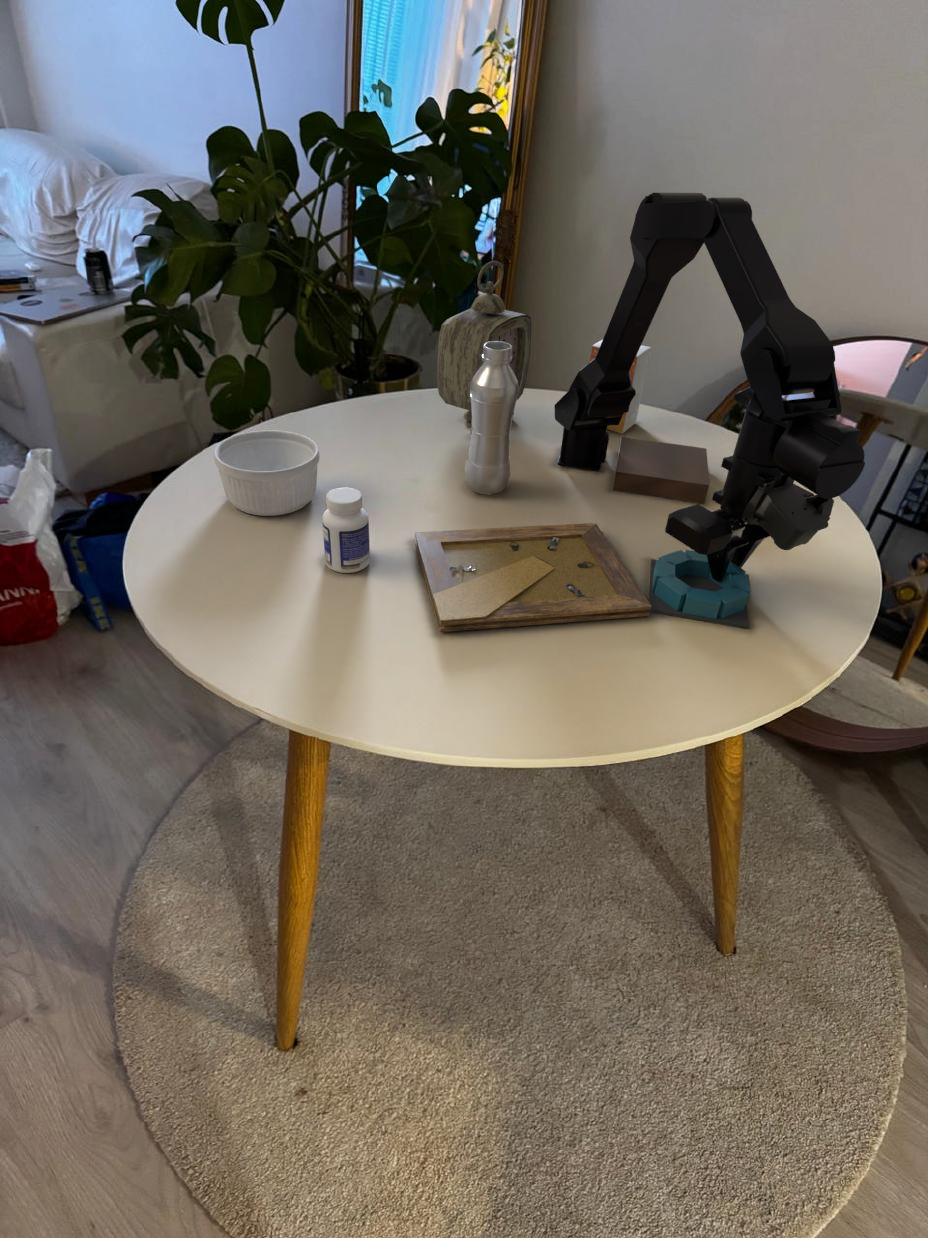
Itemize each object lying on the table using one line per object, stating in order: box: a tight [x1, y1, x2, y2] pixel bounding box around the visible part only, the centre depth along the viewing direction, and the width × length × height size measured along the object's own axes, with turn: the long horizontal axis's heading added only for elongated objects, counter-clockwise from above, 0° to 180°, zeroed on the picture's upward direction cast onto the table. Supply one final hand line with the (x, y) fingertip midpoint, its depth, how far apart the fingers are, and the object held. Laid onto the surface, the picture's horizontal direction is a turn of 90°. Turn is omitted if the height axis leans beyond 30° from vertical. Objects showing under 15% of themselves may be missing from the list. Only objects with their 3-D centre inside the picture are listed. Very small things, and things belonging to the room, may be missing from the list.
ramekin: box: [213, 429, 320, 517], centre depth 99 cm, size 13×13×7 cm
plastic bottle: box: [463, 341, 519, 495], centre depth 101 cm, size 6×7×20 cm
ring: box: [652, 549, 752, 619], centre depth 88 cm, size 11×11×2 cm
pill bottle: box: [321, 486, 371, 574], centre depth 87 cm, size 5×5×9 cm
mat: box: [648, 558, 750, 630], centre depth 88 cm, size 11×11×1 cm
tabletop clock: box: [436, 260, 532, 435], centre depth 119 cm, size 14×9×25 cm, turn 147°
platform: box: [612, 436, 710, 505], centre depth 112 cm, size 13×13×3 cm
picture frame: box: [414, 522, 651, 633], centre depth 89 cm, size 19×2×24 cm
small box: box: [588, 338, 652, 435], centre depth 125 cm, size 8×6×13 cm
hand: (723, 577), depth 90 cm, fingers closed on ring, 2 cm apart
